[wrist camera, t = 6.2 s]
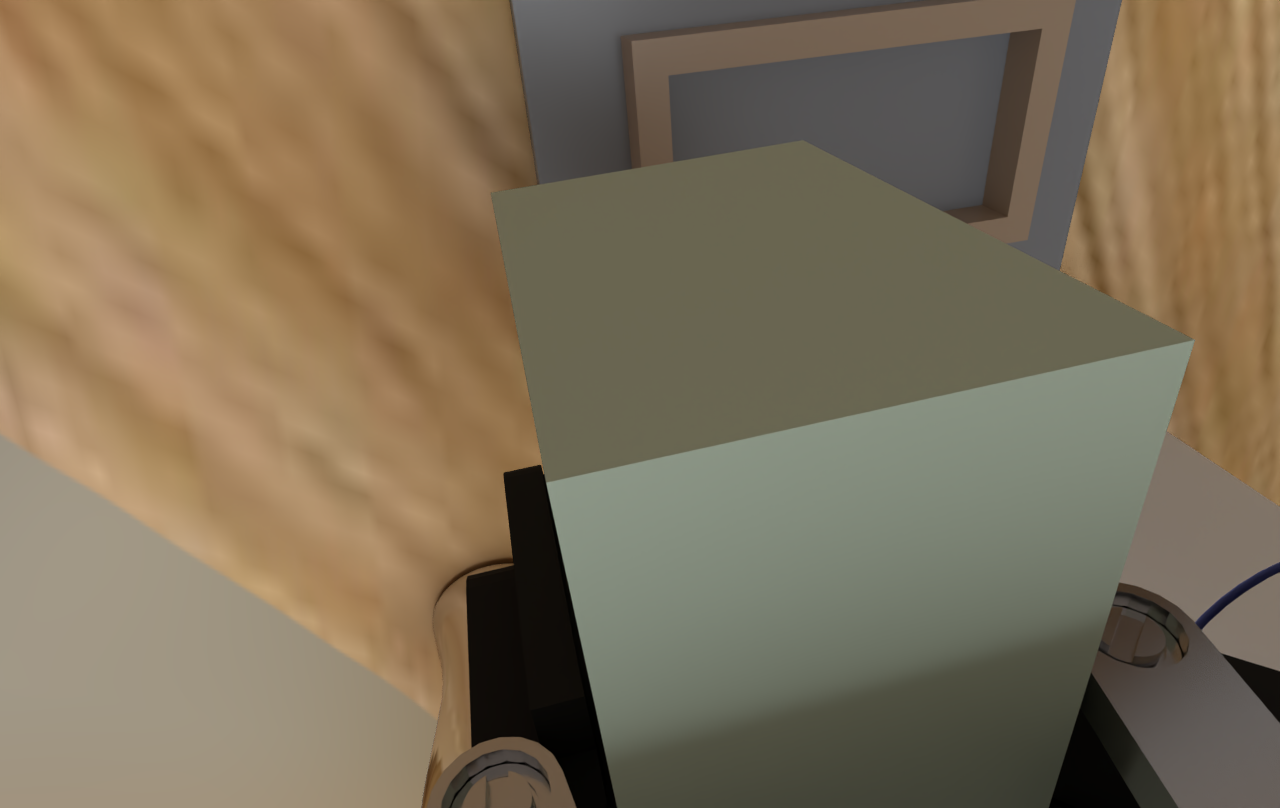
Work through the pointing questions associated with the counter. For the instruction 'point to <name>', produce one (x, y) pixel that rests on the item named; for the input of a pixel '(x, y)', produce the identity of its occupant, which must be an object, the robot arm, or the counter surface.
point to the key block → (827, 479)
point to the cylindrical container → (1211, 553)
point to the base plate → (832, 94)
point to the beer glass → (452, 679)
